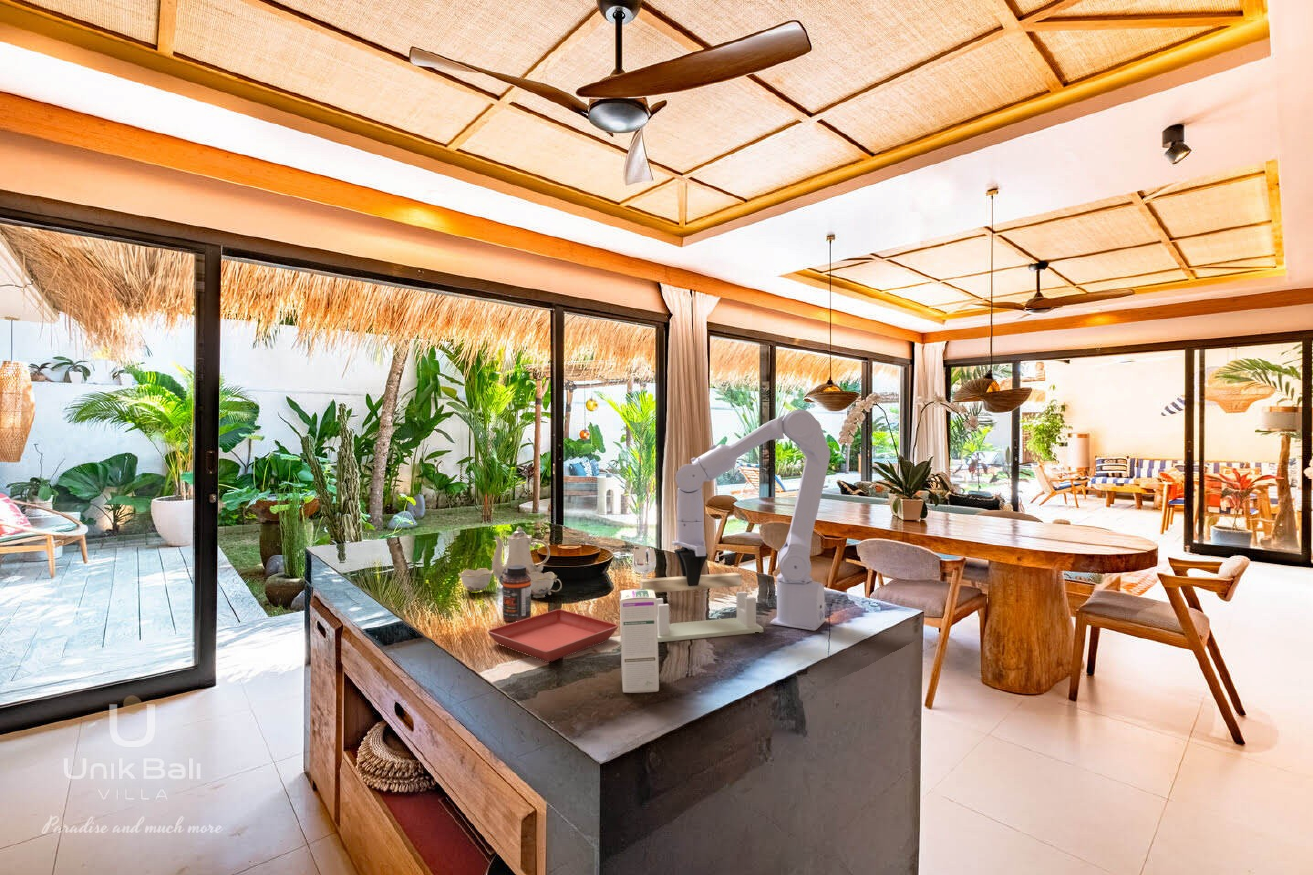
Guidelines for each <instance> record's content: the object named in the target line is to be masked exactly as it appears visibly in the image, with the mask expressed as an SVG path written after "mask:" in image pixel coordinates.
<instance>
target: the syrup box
mask: <svg viewBox="0 0 1313 875" xmlns="http://www.w3.org/2000/svg"><path fill="white" fill-rule="evenodd" d="M656 598H657V597H656V592H654V590H653V589H640V588H632V589H625V590H620V591H619V616H620V617H619V618H620V619H619V621H620V623H619V624H620V626H619V627H620V654H621V656H620V658H621V663H620V664H621V665H620V666H621V684H622V686H621V687H622V692H623V693H624V694H625V693H630V694H631V693H632V694H633V693H634V694H635V693H636V694H637V693H638V694H639V693H654V692H655V693H656V692H659V690H660V681H659V680H660V679H659V678H660V677H659V676H660V675H659V671H660V670H659V663H660V662H659V642H658V630H657V603H656Z"/></svg>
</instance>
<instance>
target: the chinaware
mask: <svg viewBox="0 0 1313 875" xmlns="http://www.w3.org/2000/svg"><path fill="white" fill-rule="evenodd" d="M515 530H516V531H513V533H511V535H509V536H507V537H506V539H507V543H508V557H507V560H506V564H505V563H504V564H503V562H502V556H503V547H504V545H503V540H502V538H501V537H500V536H498V535H494V536H493V538H494V539H495V540H496V547H495V551H494V554H493V557H492V560H491V570H489V569H488V568H486V567H482V568H478V569H475V570H474V569H470V568H469V569H468V568H467V569H464V570H463V571H462V572H458V573H457V576H459V577H460V579H461V582H462V586H464V588H466V590H468V591H469V592H471V591H480V590H482V591H483V590H484V589H486V588H487V587H488V585H489V584H490V582H491V578H492V575H493V576H494V577H495V578H496V579H497V580H498V581H499V583H500V585H501V586H502V587H503V579H504V578H505V577H506V576H507V574H508V573H507V568H508V567H509V566H512V565H525V566H526V574H527V575H528V576H529V577H530V578H531V595H532V598H536V599H538V598H545V597H546V596H545V595H549V596H551V595H552V592H554V593H558V592H559V591H561V590H562V587H563V586H562V582H561V580H560V579H559V578H557V577H558V575H557V574H555V573H554V572H553V571H548V572H544V573H543V572H542V571H543V569H544V565H543V564H545V563H547V561H548V560H549V558H550V555H551V549H550V547H549V545H548V544H547V543H546V541H543V540H540V539H532V537H533V535H531V534H527V533H526V532H525V531H524V530H523V528H522V527H521V526H520V525H518V526H517V528H516V529H515ZM531 539H532V540H531ZM536 543H540V544H542V545H543V546H545V547H544V548H546V551H547V555H546V557H545V559H544V560H543V561H541V562H538V563H535V564H534V561H533V558H532V555H531V547H532V548H536V546H537V544H536ZM557 581H558V583H559V585H560V586H559V589H557V590H554V589H552V587H553V585H554V582H555V583H557Z"/></svg>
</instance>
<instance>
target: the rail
mask: <svg viewBox="0 0 1313 875" xmlns="http://www.w3.org/2000/svg"><path fill="white" fill-rule="evenodd" d="M742 578H743V577H742V574H741V573H739V572H729V573H728V572H727V573H713V574H712V573H711V574H701V575H700V580H699V584H698V586H688V583H687V578H686V576H682V575H681V576H667V577H653V578H646V579H642V578H640V579H639V589H653V590H654V592H655V593H664V592H665V593H666V592H678V591H680V592H681V591H692V590H694V591H695V590H706V589H720V588H731V587H732V588H734V587H736V588H737V587H743V586H742Z"/></svg>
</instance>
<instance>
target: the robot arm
mask: <svg viewBox="0 0 1313 875" xmlns="http://www.w3.org/2000/svg"><path fill="white" fill-rule="evenodd" d="M785 436H786V438H787V439H789V440H790V441H792V442H793V443H795V445H797V447H798V449H799V451H801V453H802V454H803V456H804V457H805V462H804V465H803V470H802V475H801V479H800V482H799V487H798V491H797V495H796V500H795V505H794V509H793V513H792V518H791V522H790V527H789V530H788V533H787V535H786V539H785V543H784V544H783V545H782V547H781V548H780V549H779V551H778V554H777V561H778V564H779V571H780V572H779V573H778V574H777V576H776V617H774V618H773V619H771V621H770V622H769V624H771V625H776V626H780V627H781V626H783V627H788V628H796V629H803V630H807V631H808V630H809V631H816V630H818V628H820V627H821V626H822V625H823V624H824V623H825V622H826V621H827V619H826V617H825V616H826V615H825V613H826V611H825V610H826V608H825V607H826V606H825V605H826V604H825V601H826V599H825V592H826V591H825V587H824V584H823V583H822V582H820V581H819V582H817V581H814V580H813V577H812V575H811V573H812V563H811V562H812V561H811V557H810V556H811V555H810V554H811V551H812V538H813V533H814V528H815V524H816V520H817V516H818V512H819V507H820V503H821V499H822V496H823V495H822V494H823V490H824V489H823V488H824V485H825V481H826V476H827V471H828V468H829V464H830V459H831V449H830V447H829V444H828V442H827V439H826V437H825V435H824V432H823V429H822V424H821V423H820V422H819V421H818V419H817V418H816V417H815V416H814V415H813V414H812V413H811V412H809V410H808V411H807V410H805V409H802V408H801V409H799V408H798V409H794V410H792V411H790V412H789V413H787V414H786V415H780V416H779V417H776V418H774V419H772V420H769V421H767V422H765V423H764V424H762V425H760V426H759V427H757V428H755V429H754V430H752V431H751V432H748V433H747V434H746V435H745V436H743V437H742V438H739V439H738V440H736V441H735V442H734V443H731V444H730V445H727V444H723V443H719V444H718V445H717V446H716V444H712V445H711V446H709V450H707V451H706V452H704V453H703V454H701V455H700V456H698V457H695V456H693V457H692V458H690V462H691V463H685V464H682V466H680V467H679V469H678V470H677V472H676V474H675V479H674V480H675V484H676V485H677V491H676V492H677V493H676V495H677V499H676V528H677V529H676V533H677V534H676V540H672V541H671V545H673V546H674V547H675V546H676V547H677V546H678V547H680V548H675V549H673V551H674V554H675V556H676V558H677V560H678V563H679V567H680V571H681V576H686V578H687V583H688V586H698V584H699V580H700V575H702V570H703V567H704V565H705V563H706V561H707V559H708V556H709V554H708V553H707V547H706V541H705V516H704V514H705V512H704V511H705V510H704V507H705V506H704V498H703V485H704V483H705V482H712V481H713V480H715V479H717V478H718V477H720V476H721V475H724V474H725V473H726V472H729V471H730V470H732V469H733V468H735V467H736V463H737V459H738V458H740V457H742V456H743V455H745V454H746V453H748V452H750V451H752V450H754V449H755V448H757V447H759V446H761V445H763V444H765V443H766V442H769V441H771V440H773V441H774V440H784V439H785Z"/></svg>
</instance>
